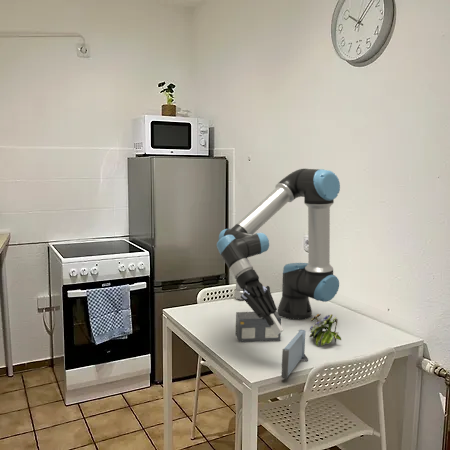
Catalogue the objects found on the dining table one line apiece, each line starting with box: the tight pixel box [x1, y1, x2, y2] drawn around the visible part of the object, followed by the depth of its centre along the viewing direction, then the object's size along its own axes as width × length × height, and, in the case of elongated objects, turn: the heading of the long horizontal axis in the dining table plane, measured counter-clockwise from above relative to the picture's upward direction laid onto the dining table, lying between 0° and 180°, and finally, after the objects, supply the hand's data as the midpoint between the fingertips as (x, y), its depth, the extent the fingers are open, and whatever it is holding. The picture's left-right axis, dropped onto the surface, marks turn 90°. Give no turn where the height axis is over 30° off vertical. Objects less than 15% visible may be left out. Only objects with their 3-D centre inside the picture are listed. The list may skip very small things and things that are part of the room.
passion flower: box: [308, 313, 342, 347], centre depth 187 cm, size 13×12×14 cm
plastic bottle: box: [234, 280, 244, 301], centre depth 238 cm, size 6×7×20 cm
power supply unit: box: [235, 311, 282, 343], centre depth 189 cm, size 16×9×9 cm, turn 98°
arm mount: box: [298, 353, 309, 363], centre depth 171 cm, size 4×4×1 cm
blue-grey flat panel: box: [281, 329, 307, 379], centre depth 162 cm, size 21×2×9 cm, turn 155°
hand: (279, 332), depth 164 cm, fingers closed
